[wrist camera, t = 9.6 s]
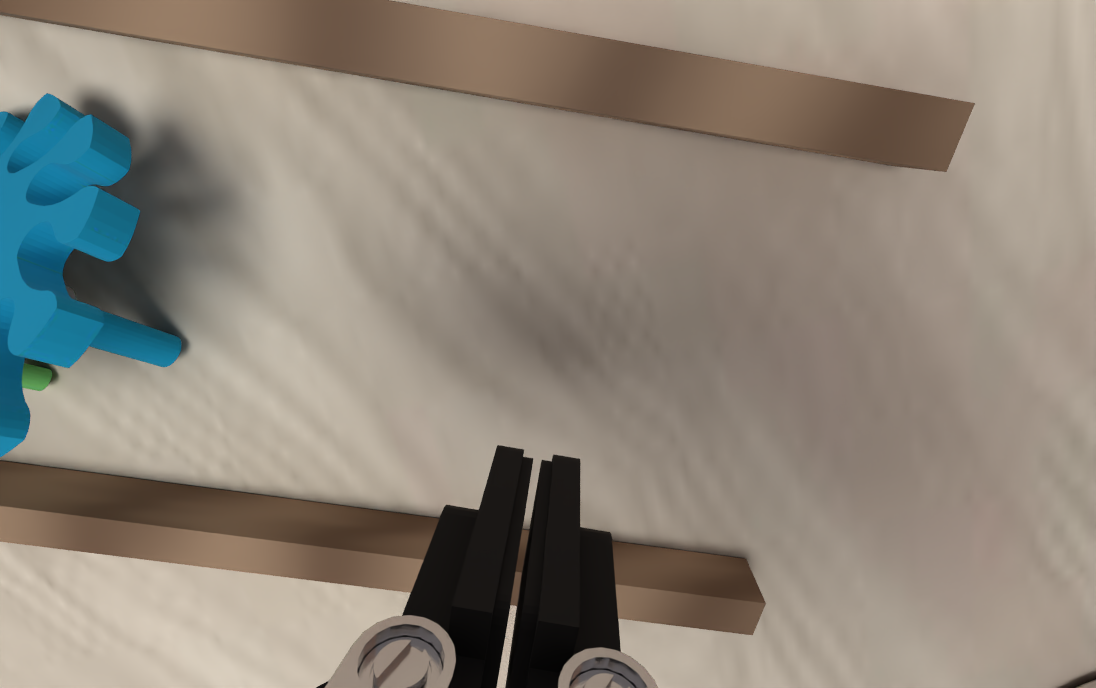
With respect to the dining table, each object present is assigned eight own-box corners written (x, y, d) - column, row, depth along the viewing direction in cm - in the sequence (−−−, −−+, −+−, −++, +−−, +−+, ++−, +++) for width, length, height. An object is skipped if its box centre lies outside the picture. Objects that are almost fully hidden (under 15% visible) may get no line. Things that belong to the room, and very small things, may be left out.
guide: (919, 106, 14) (974, 103, 12) (734, 588, 20) (752, 635, 18) (-209, -90, 13) (-341, -129, 11) (-28, 490, 19) (-91, 529, 17)
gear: (107, 9, 12) (-12, 451, 8) (304, 170, 17) (289, 485, 13) (-173, 177, 15) (-359, 559, 11) (68, 271, 20) (0, 552, 16)
